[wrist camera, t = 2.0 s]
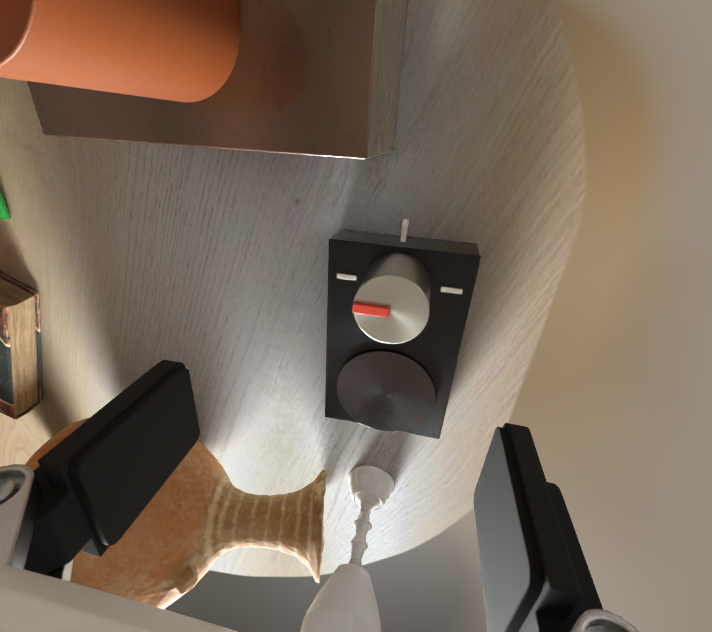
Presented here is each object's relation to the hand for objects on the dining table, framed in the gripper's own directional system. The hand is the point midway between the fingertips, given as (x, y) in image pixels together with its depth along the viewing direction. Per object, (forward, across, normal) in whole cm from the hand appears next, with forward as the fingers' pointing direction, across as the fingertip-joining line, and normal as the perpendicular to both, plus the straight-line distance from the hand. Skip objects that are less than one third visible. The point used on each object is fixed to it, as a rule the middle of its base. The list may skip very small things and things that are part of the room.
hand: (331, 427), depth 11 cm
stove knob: (+15, -1, +1) cm, 15 cm away
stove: (+18, -1, +6) cm, 19 cm away
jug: (+19, +18, +28) cm, 38 cm away
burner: (+15, -1, +10) cm, 18 cm away
